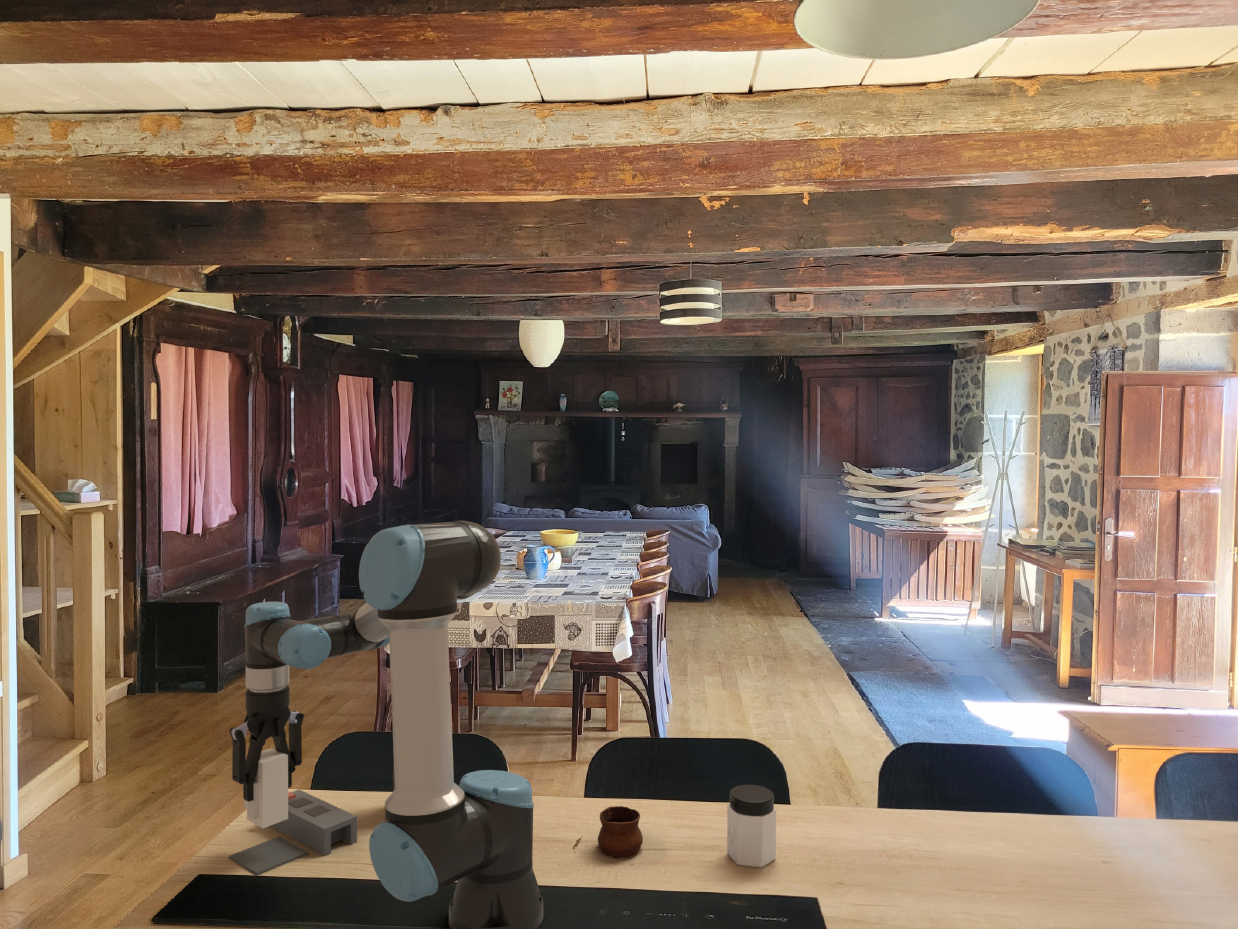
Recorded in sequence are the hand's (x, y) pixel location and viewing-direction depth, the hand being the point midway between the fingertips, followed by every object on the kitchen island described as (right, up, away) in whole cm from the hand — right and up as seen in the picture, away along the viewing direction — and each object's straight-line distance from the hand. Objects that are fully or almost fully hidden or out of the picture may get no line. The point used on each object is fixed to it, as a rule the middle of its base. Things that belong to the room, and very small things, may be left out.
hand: (268, 811), depth 158 cm
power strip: (+5, -8, +9) cm, 13 cm away
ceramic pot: (+65, -9, +4) cm, 66 cm away
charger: (-1, -2, +1) cm, 2 cm away
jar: (+90, -9, +1) cm, 90 cm away
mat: (0, -8, 0) cm, 8 cm away
